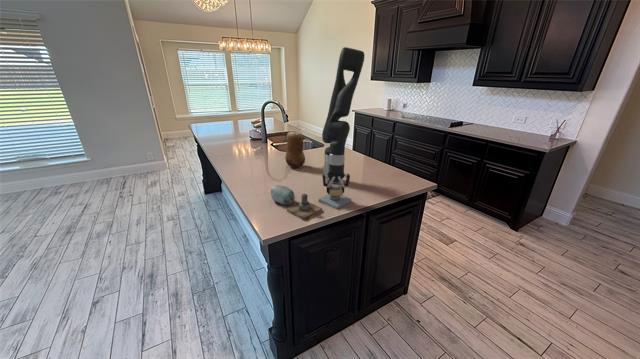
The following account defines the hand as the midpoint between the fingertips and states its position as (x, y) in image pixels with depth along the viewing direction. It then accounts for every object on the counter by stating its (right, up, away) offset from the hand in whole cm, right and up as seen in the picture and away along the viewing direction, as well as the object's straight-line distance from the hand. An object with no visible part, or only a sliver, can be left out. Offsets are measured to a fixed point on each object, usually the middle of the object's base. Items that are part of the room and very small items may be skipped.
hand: (335, 193), depth 128 cm
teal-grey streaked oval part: (-27, -5, 0) cm, 27 cm away
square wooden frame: (0, 0, 0) cm, 0 cm away
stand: (-15, -8, -8) cm, 19 cm away
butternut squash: (-25, +15, +49) cm, 57 cm away
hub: (0, -4, +2) cm, 5 cm away
